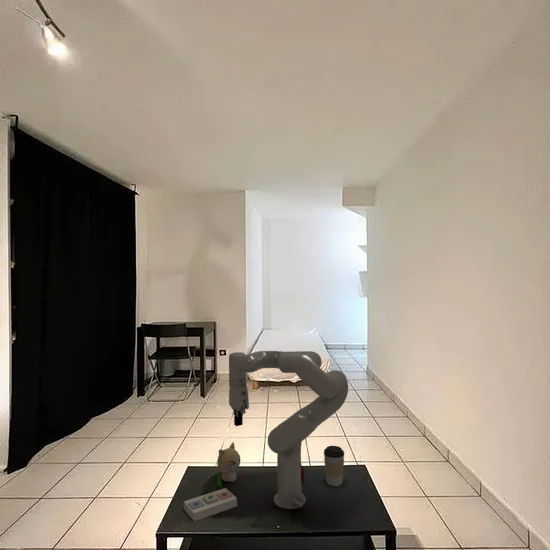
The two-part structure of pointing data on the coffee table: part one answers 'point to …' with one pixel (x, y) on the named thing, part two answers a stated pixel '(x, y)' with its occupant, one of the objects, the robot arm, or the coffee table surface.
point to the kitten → (228, 464)
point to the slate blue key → (195, 504)
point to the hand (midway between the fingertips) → (238, 425)
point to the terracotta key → (224, 495)
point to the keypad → (210, 506)
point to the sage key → (210, 498)
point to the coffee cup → (334, 465)
